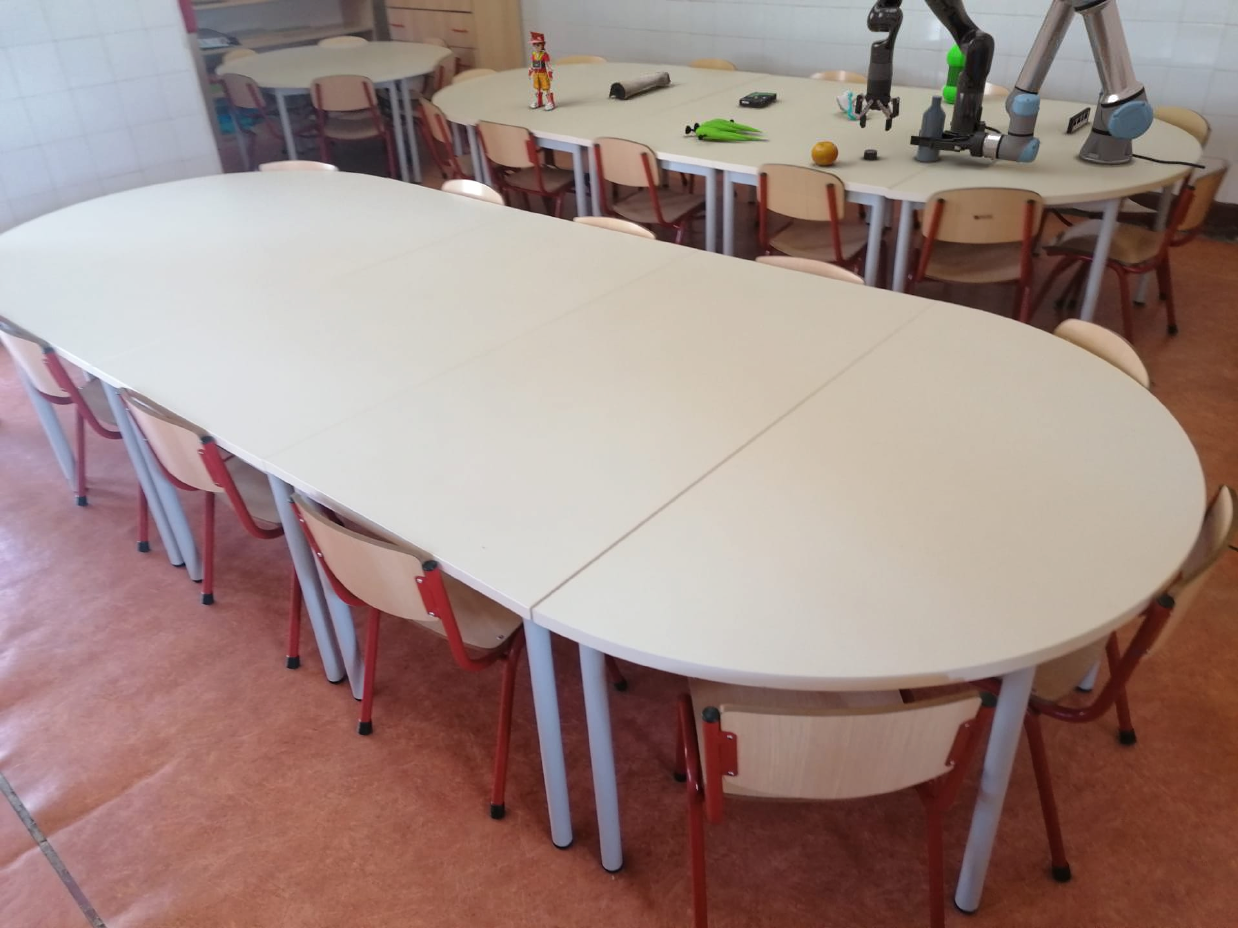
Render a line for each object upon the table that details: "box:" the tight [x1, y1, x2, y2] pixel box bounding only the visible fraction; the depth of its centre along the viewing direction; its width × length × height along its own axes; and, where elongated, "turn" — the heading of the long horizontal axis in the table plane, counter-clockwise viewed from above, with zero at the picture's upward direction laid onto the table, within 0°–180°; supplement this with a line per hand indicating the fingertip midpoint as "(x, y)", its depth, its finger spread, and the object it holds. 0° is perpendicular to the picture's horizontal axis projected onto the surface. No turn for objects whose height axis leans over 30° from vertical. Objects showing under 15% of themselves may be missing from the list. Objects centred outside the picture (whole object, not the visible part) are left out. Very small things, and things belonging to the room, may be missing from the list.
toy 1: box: [527, 31, 556, 111], centre depth 374 cm, size 12×9×30 cm
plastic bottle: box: [942, 43, 966, 104], centre depth 348 cm, size 10×10×25 cm
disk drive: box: [738, 91, 778, 109], centre depth 368 cm, size 10×3×15 cm
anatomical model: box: [836, 89, 870, 121], centre depth 344 cm, size 15×10×10 cm
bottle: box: [915, 94, 947, 163], centre depth 291 cm, size 7×7×20 cm
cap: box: [863, 148, 878, 161], centre depth 300 cm, size 4×4×2 cm
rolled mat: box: [608, 71, 672, 101], centre depth 395 cm, size 30×9×10 cm
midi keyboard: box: [1066, 107, 1092, 134], centre depth 315 cm, size 18×1×5 cm, turn 138°
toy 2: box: [684, 118, 766, 141], centre depth 330 cm, size 28×5×30 cm
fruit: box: [810, 140, 839, 166], centre depth 296 cm, size 8×8×8 cm
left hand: (875, 129), depth 294 cm, fingers open, 8 cm apart
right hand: (915, 137), depth 295 cm, fingers closed on bottle, 7 cm apart
